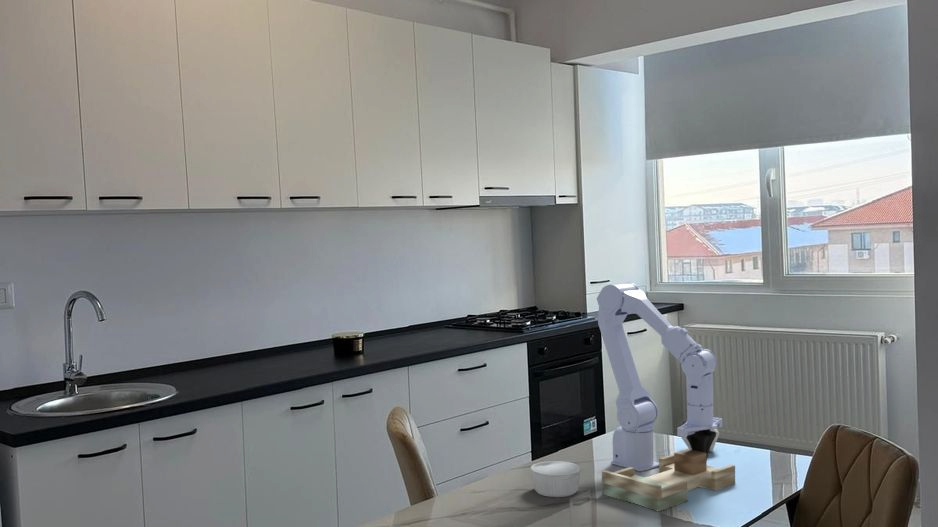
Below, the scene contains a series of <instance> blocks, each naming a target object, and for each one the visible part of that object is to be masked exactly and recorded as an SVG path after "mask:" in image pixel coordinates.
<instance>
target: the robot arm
mask: <svg viewBox="0 0 938 527" xmlns="http://www.w3.org/2000/svg"><path fill="white" fill-rule="evenodd" d="M596 300H597V305H598V316H597V323H598V327H599V330H600V333H601V337H602V340H603V344H604V347H605V350H606V352H607V356H608V360H609V364H610V366H611V368H612V372H613V376H614V379H615V382H616V384H617V388H618V391H619V393H618V395H617V398H616V399H615V405H616V420H617V422H618V424H619V426H618V427H616V428H615V430H614V432H613V434H612V461H610V464H612V465H616V466H618V467H619V466H620V467H623V468H625V469H626V468H629V467H632V468H634V471H639V472H643V471H647V470H650V469H652V468H653V469H654V468H658V467H659V461H654V459H655V458H654V456H655V455H654V426H655V425H654V424H655V422H656V421H657V419H658V417H659V408H658V405H657V404H656V403H655V401H654V400H653V399H652V398H651V394H650V392H649V391H648V390H647V389H646V388H644V387H643V386H642V383H641V380H640V377H639V374H638V370H637V367H636V365H635V361H634V358H633V355H632V352H631V348H630V346H629V342H628V338H627V335H626V334H625V330H624V326H623V323H624V321H625V319H626V318H627V316H628V314H636V315H637V316H638V317H639V318H640V319H642V320H643V321H644V322H645V323H646V325H648V326H650V327H651V328H652V329H653V330H654V331H655V332H656V333H657V334H659V335H660V337H661V338H660V340H661V345H663V347H664V348H665V349H667V350H668V352H669V353H671V355H672V356H674V357H675V359H676V360H678V362H679V363H680V364H681V365H680V366H681V369H682V372H683V373H684V374H685V377H686V410H687V411H686V415H687V416H686V422H684V423H683V424H682V425H681V426H679V427H676V430H677V437H680V438H681V437H684V438H685V437H686V438H687V440H688V441H689V443H690V446H691V448H692V450H695V451H700V452H704V453H706V461H707V462H708V457H709V454H710V452H709V450H710V447H711V444H712V442H713V440H714V438H715V437H716V432H714V431H710V429H717V430H718V428H722V427H723V418H721V417H714V372H715V371H716V370H717V367H718V360H717V357H716V356H715V355H714V352H713V351H712V350H710V349H708V348H703V346H702V345H701V343H697V342H696V341H695V340H694V339H693V338H692V337H691V336H690V335H689V334H688V332H689V331H688V330H687V329H686V328H685V327H683V328H682V327H681V326H679V325H677V326H675V325H674V326H673V325H672V324H671V323H670V322H669V321H668V320H667V319H666V317H665V316H664V315H662V313H661V312H660V311H659V310H658V309H657V308H656V306H655V305H654V304H653V303H652V302H651V300H649V298H648V297H647V295H646V293H645V292H644V290H642V289H640V288H639V286H638V285H637V284H636V283H633V282H624V283H617V284H606V285H605V286H604V287H602V288H601V290H600V292H599V294H598V295H597V297H596Z"/></svg>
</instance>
